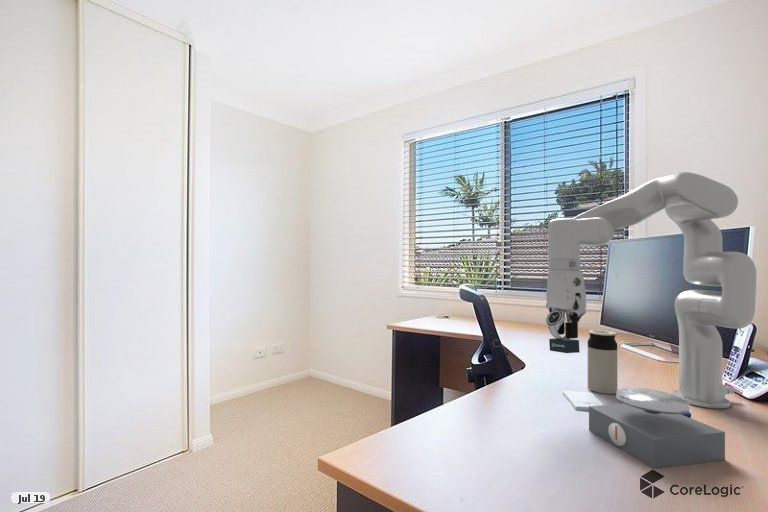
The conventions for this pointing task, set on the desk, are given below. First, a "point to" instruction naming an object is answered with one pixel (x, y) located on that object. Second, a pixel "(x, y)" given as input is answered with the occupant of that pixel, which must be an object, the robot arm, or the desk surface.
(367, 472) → the desk surface
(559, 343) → the watch
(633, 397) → the scale pan
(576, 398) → the external hard drive
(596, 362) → the travel mug
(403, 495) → the desk surface
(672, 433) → the scale
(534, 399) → the desk surface
